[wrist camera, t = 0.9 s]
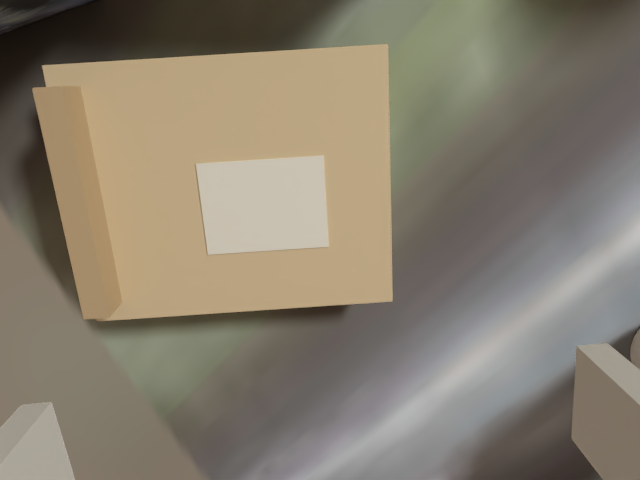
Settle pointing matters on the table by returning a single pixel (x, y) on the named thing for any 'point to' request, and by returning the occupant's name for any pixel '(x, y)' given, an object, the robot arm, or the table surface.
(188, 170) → the lid
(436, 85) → the table surface
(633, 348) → the cup
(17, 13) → the small box
